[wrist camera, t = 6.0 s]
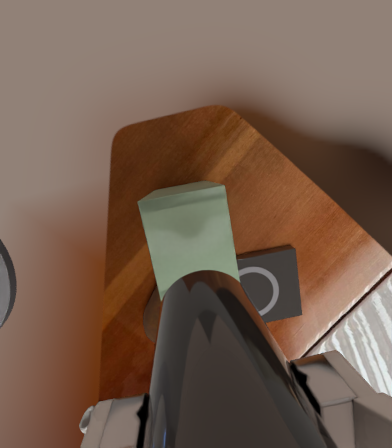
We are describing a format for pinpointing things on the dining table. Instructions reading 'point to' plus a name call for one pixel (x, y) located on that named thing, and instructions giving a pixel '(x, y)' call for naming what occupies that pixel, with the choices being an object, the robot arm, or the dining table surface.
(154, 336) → the potato
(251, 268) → the hob
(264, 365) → the spice bottle
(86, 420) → the figurine
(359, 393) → the robot arm
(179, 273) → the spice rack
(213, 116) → the dining table surface
